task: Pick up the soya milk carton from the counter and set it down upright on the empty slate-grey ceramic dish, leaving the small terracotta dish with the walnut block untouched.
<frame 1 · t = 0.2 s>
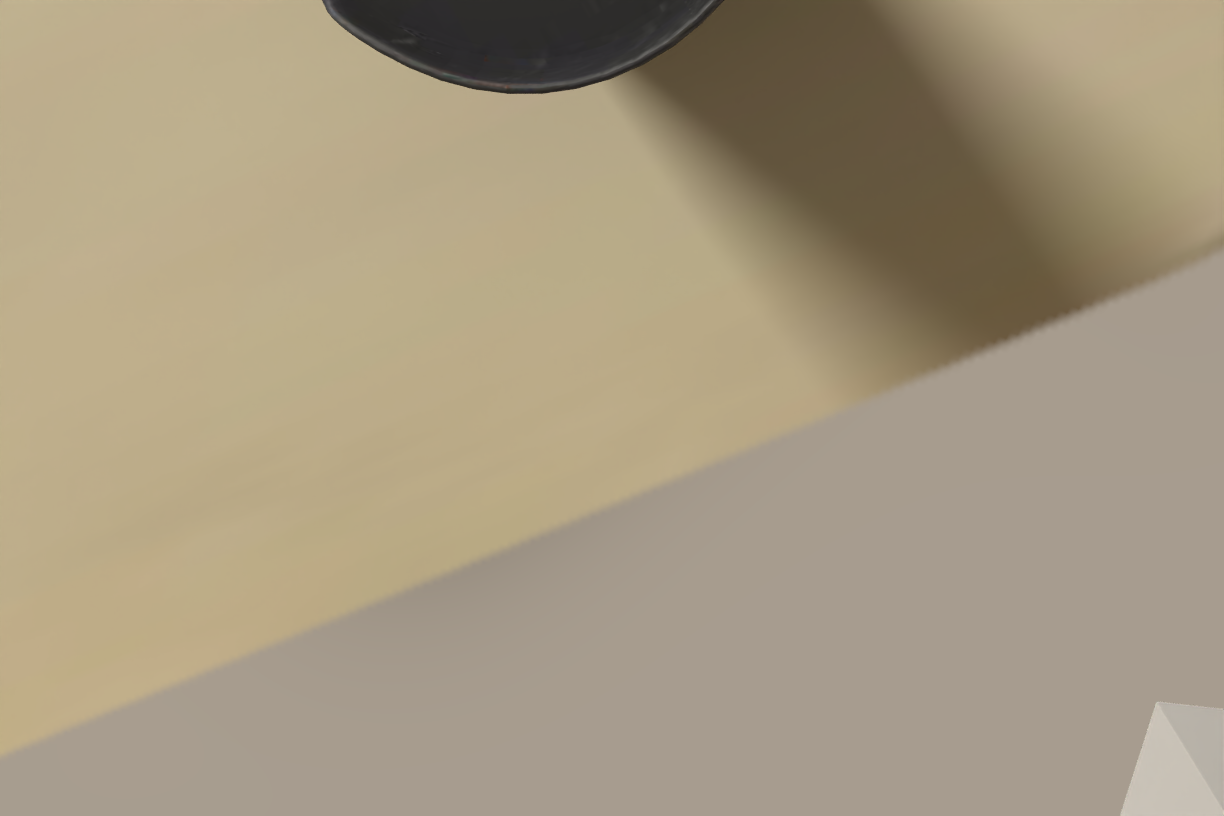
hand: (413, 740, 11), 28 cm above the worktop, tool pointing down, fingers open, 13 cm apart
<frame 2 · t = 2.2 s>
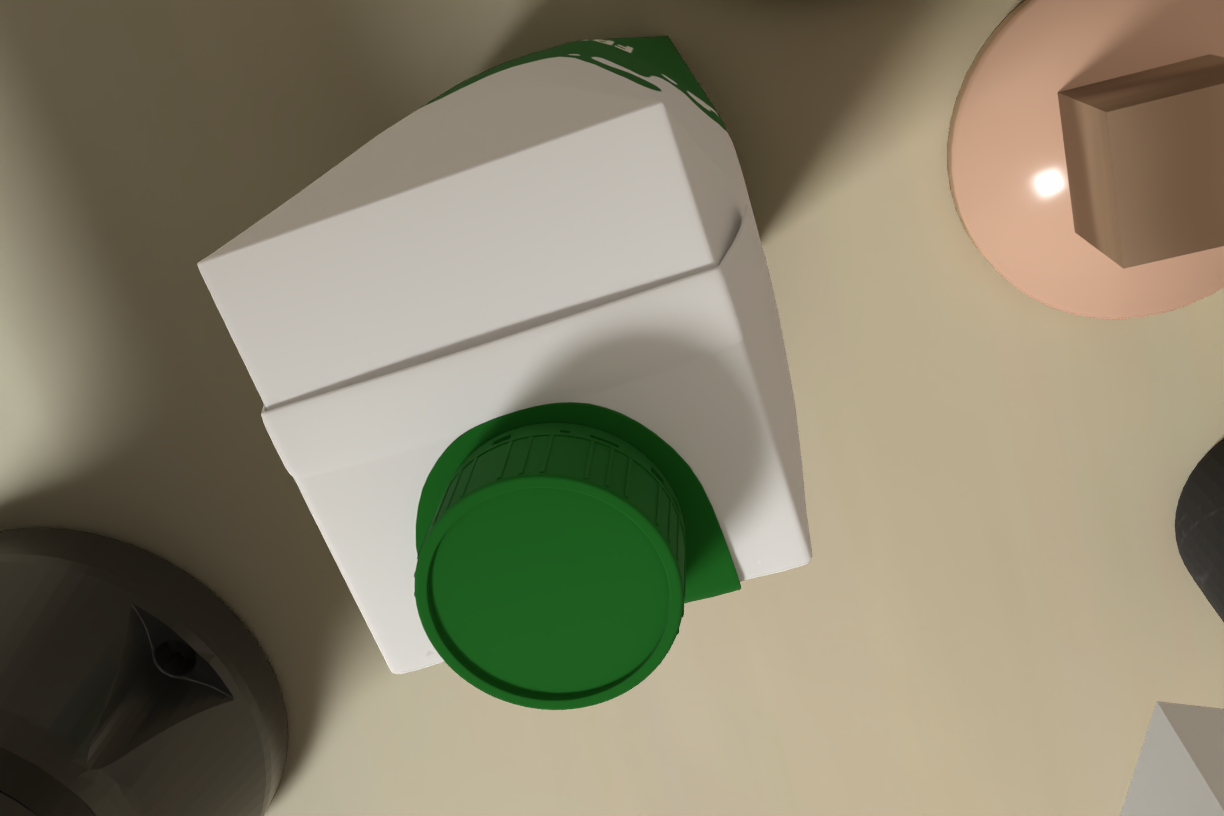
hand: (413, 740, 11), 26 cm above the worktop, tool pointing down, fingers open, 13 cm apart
terracotta dish: (1125, 139, 33), on the worktop
walnut block: (1140, 145, 32), point 1 cm above the worktop, touching terracotta dish
soya milk: (595, 188, 35), on the worktop
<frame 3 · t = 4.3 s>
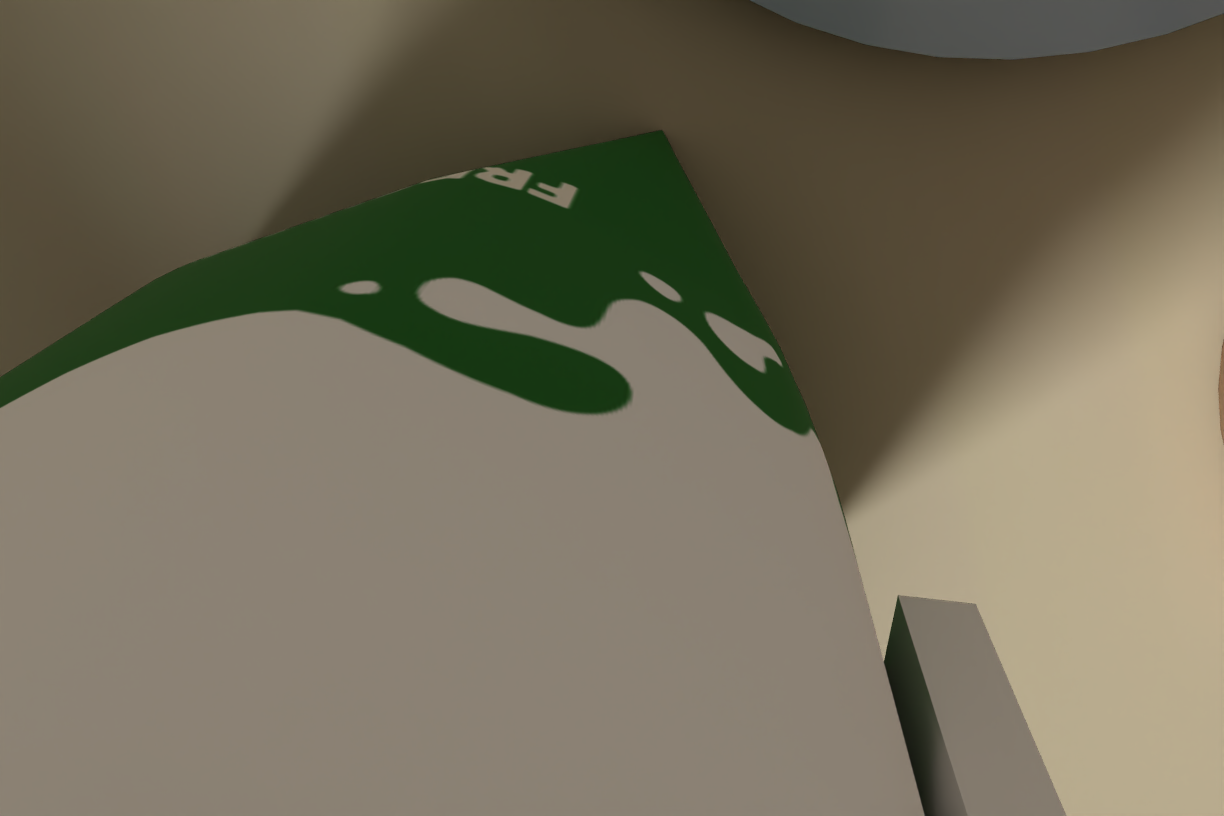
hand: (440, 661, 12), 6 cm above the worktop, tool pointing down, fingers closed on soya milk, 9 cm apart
soya milk: (522, 414, 18), on the worktop, touching gripper
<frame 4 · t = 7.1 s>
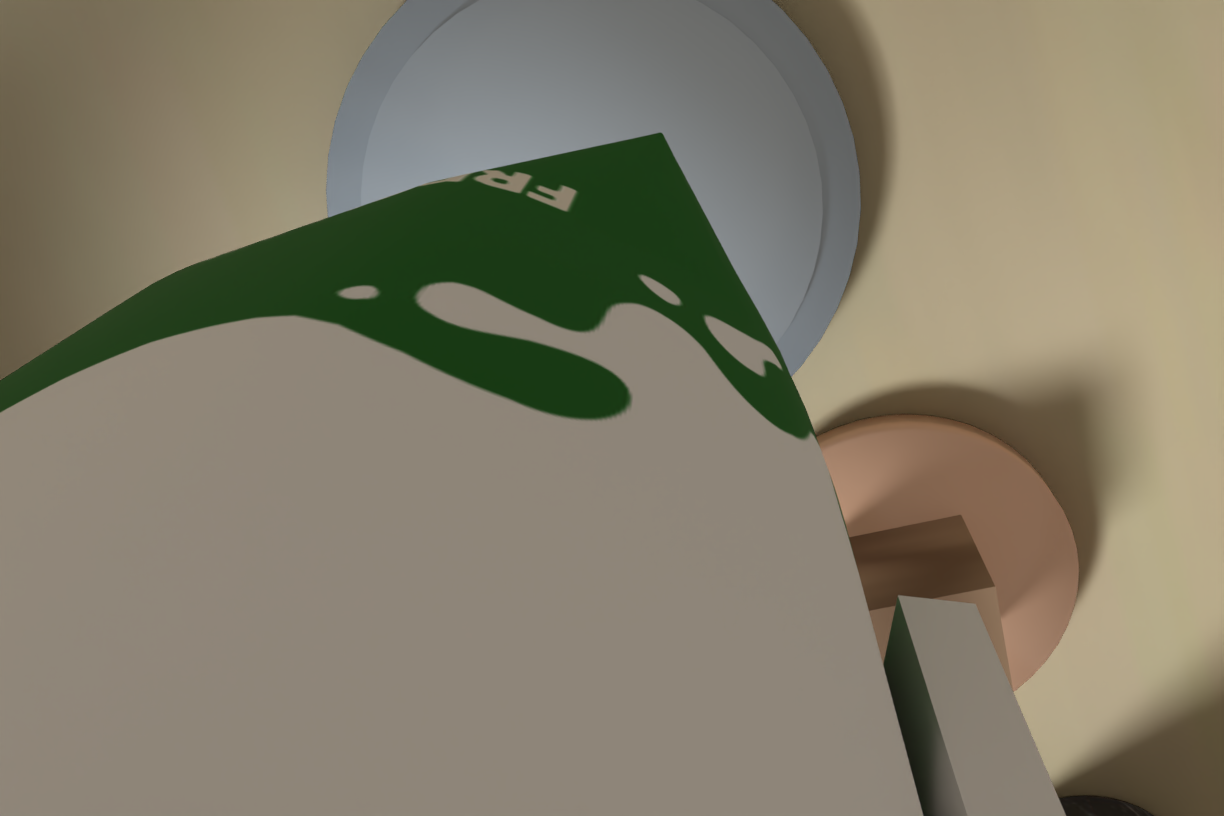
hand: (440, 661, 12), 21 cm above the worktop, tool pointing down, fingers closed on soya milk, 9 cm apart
terracotta dish: (895, 567, 35), on the worktop
slate dish: (593, 207, 32), on the worktop
walnut block: (902, 588, 34), point 1 cm above the worktop, touching terracotta dish
soya milk: (522, 416, 18), point 15 cm above the worktop, touching gripper
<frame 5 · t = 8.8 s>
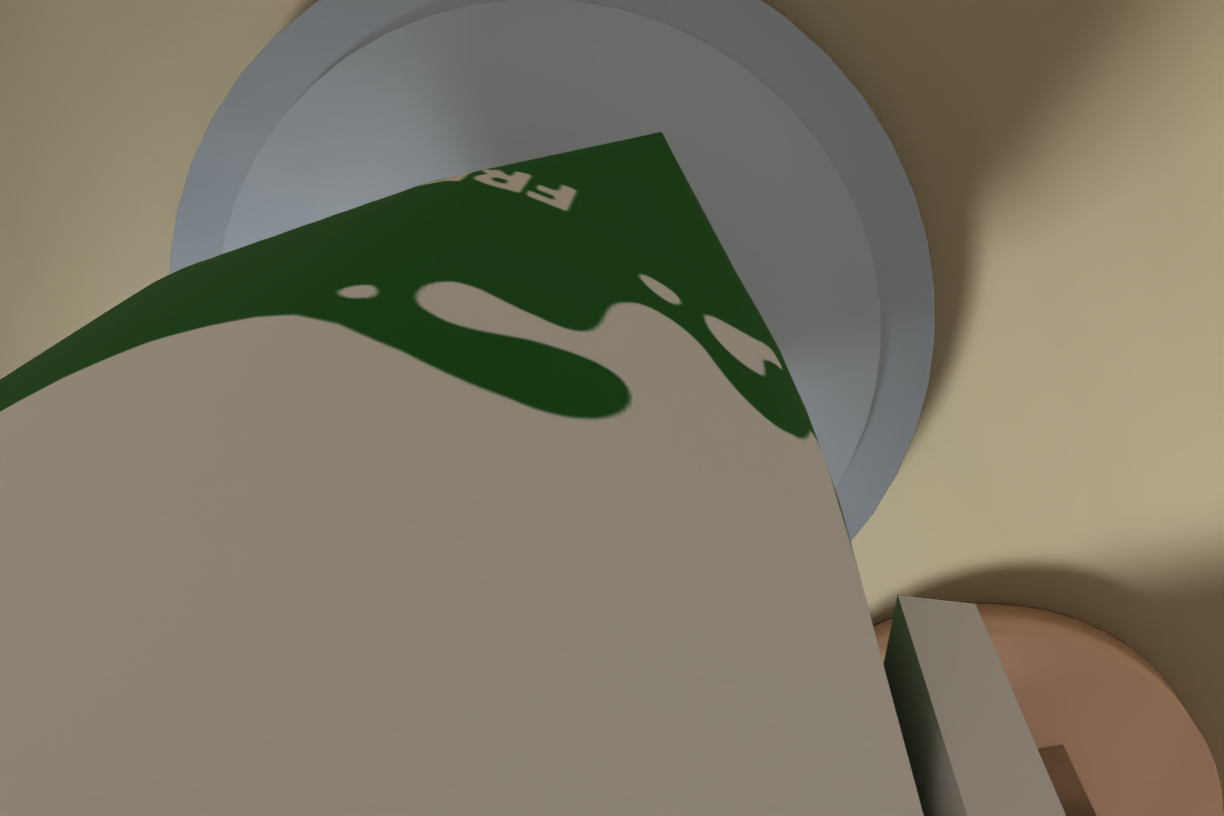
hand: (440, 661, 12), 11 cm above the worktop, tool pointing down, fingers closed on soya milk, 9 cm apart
terracotta dish: (966, 798, 26), on the worktop
slate dish: (553, 324, 23), on the worktop
soya milk: (522, 416, 18), point 5 cm above the worktop, touching gripper
when the fingers open (10 cm above the worktop, at t = 9.7 s): soya milk drops 2 cm, resting on slate dish.
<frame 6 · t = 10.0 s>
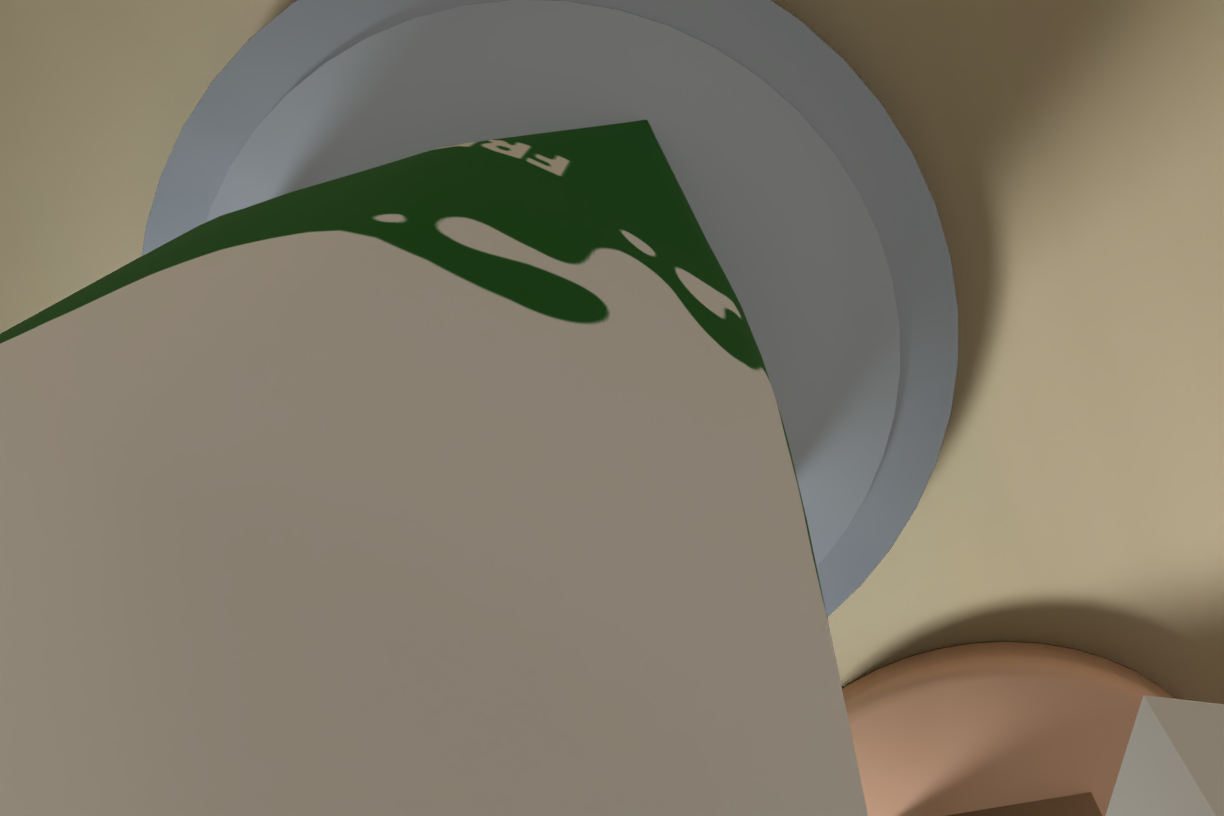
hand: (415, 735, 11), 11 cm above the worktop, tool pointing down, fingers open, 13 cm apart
slate dish: (549, 347, 21), on the worktop
soya milk: (512, 374, 20), point 1 cm above the worktop, touching slate dish
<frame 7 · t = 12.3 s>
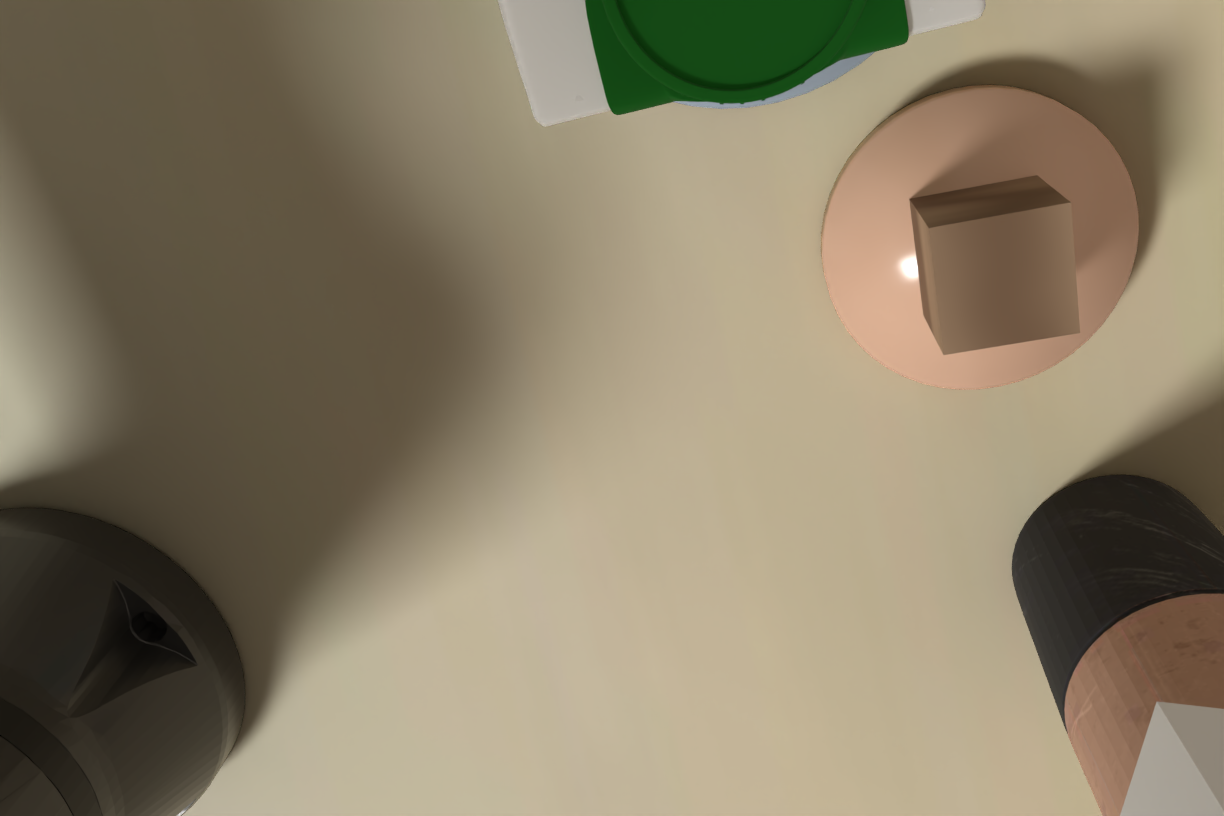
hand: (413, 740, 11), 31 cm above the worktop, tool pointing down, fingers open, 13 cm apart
travel mug: (1107, 556, 44), on the worktop
terracotta dish: (971, 238, 39), on the worktop
walnut block: (978, 246, 38), point 1 cm above the worktop, touching terracotta dish
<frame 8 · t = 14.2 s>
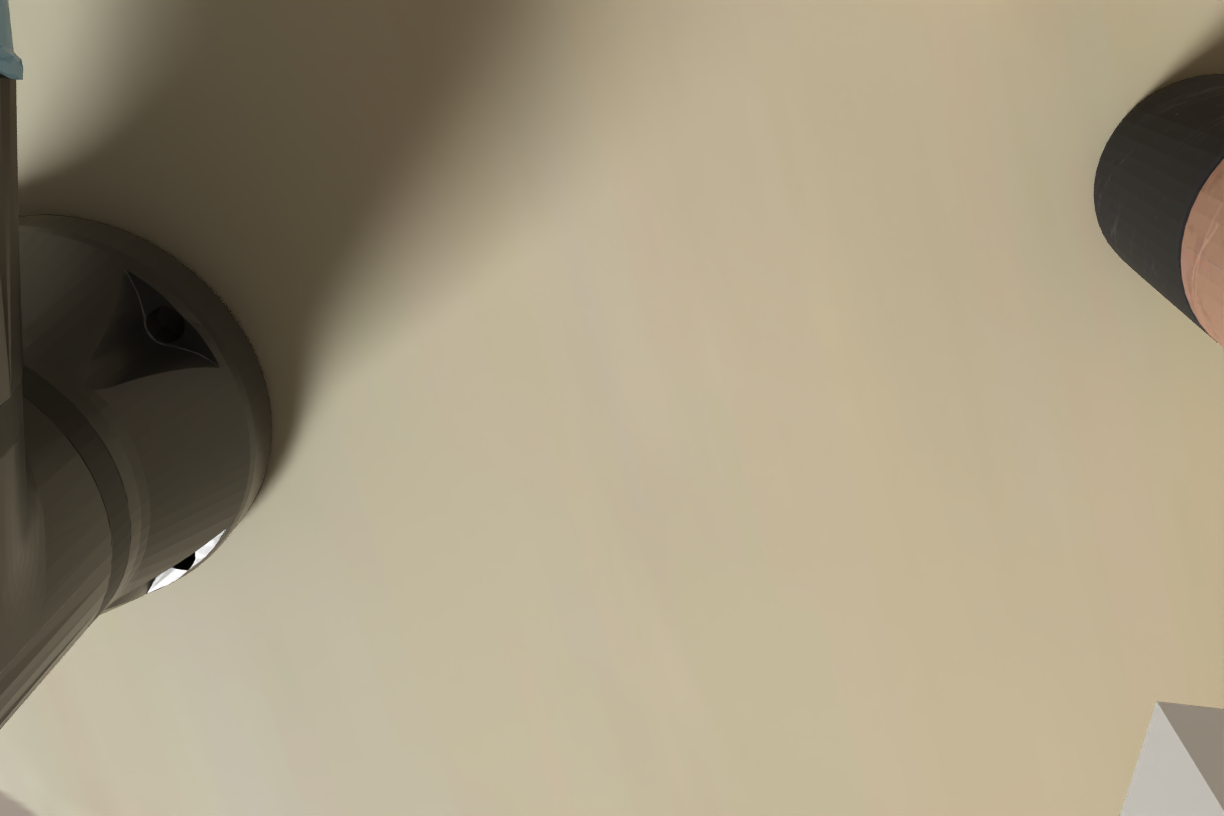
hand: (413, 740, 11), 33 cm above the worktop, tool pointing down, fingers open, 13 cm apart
travel mug: (1195, 178, 40), on the worktop
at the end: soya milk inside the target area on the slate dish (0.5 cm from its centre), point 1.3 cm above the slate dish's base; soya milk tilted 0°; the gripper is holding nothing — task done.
